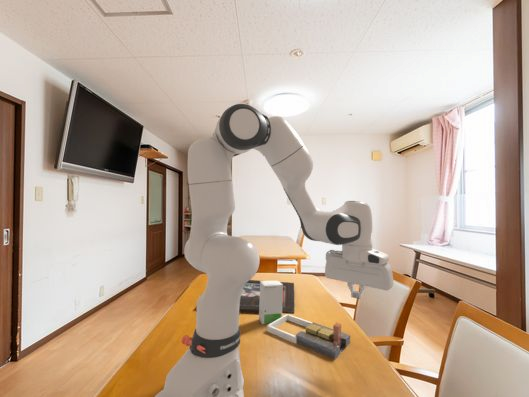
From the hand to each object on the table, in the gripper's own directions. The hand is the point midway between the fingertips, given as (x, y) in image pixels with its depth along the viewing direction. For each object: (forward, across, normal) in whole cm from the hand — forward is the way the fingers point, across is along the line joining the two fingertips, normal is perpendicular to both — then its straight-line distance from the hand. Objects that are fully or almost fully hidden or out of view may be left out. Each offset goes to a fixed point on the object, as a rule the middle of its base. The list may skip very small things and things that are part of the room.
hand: (356, 297), depth 78 cm
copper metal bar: (+17, -6, 0) cm, 18 cm away
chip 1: (+18, -15, 0) cm, 23 cm away
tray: (+19, -24, 0) cm, 30 cm away
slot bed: (+19, -11, 0) cm, 22 cm away
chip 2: (+18, -10, 0) cm, 20 cm away
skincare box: (+19, -35, +2) cm, 40 cm away
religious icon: (+20, -60, +17) cm, 65 cm away
